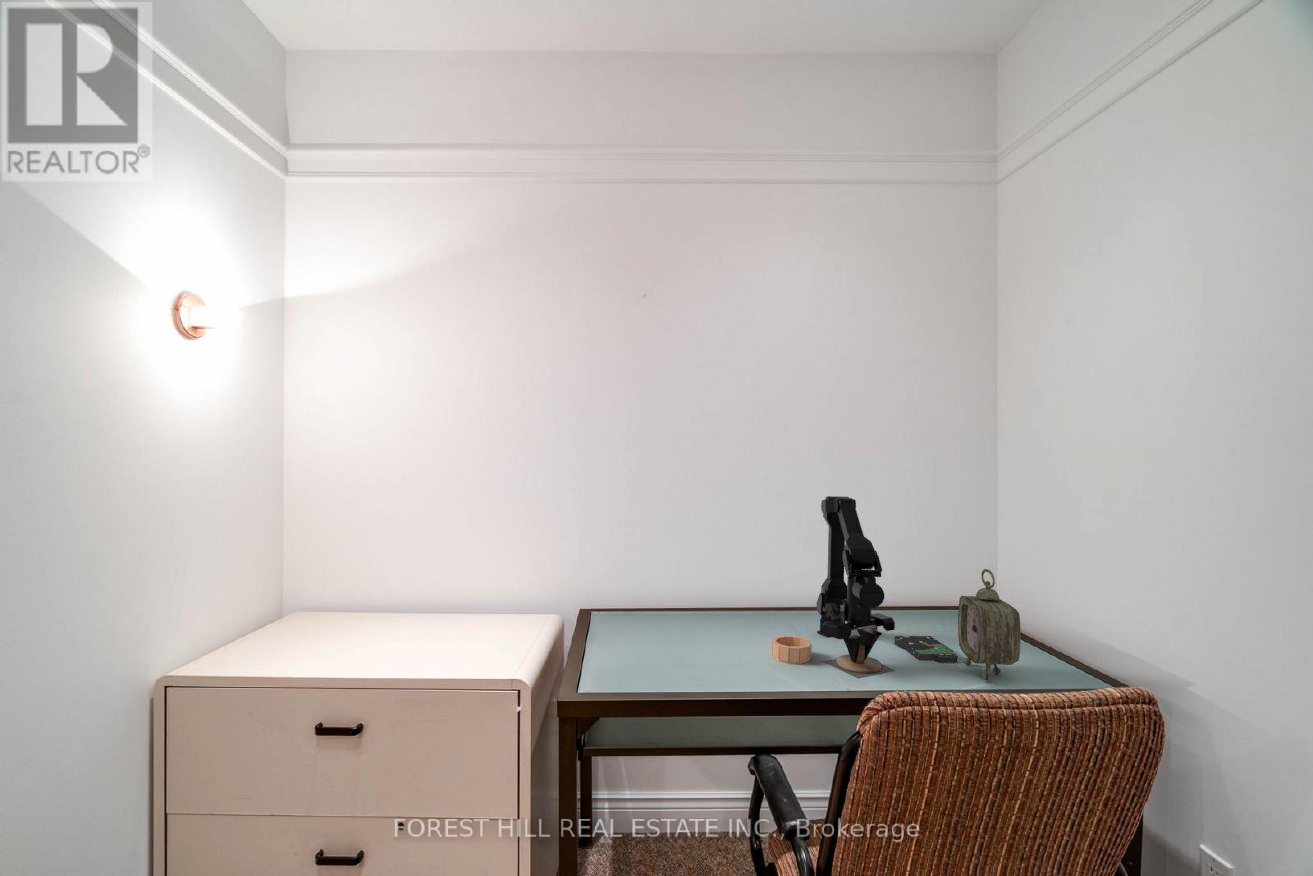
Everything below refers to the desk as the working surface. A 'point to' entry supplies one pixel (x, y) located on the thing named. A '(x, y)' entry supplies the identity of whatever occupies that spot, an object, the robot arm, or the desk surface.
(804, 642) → the bowl
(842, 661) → the lid
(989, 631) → the tabletop clock
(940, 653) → the disk drive
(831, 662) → the trivet
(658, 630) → the desk surface
